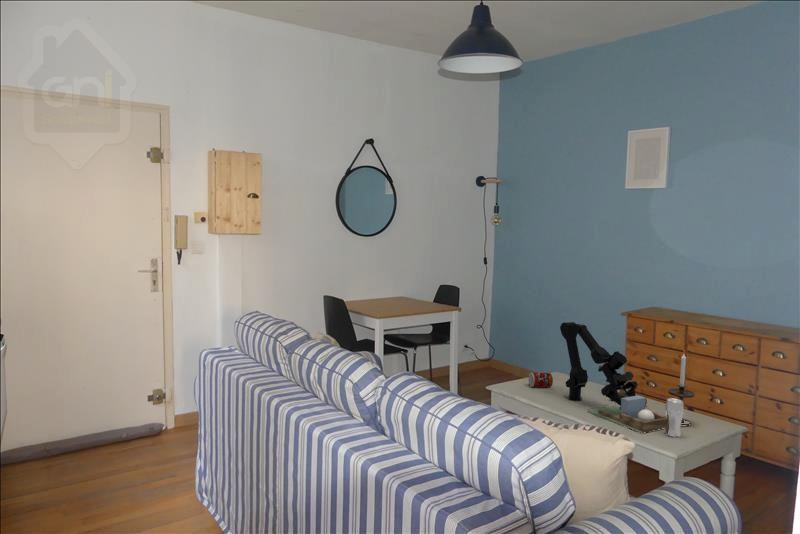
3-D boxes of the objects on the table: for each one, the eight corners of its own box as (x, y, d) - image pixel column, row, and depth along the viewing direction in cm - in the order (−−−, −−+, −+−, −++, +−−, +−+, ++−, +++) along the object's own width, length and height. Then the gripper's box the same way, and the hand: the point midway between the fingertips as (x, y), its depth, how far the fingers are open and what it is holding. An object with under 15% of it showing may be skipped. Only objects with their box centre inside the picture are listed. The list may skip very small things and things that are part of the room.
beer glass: (660, 432, 255) (662, 398, 254) (676, 432, 255) (678, 398, 254) (669, 437, 248) (671, 403, 247) (685, 437, 248) (687, 403, 247)
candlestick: (661, 421, 268) (666, 346, 265) (673, 417, 275) (678, 343, 272) (685, 428, 260) (690, 350, 257) (697, 424, 266) (702, 347, 263)
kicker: (620, 419, 267) (621, 398, 266) (637, 416, 272) (638, 395, 271) (627, 422, 264) (628, 400, 263) (644, 419, 269) (645, 397, 268)
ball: (652, 407, 258) (657, 423, 256) (651, 408, 265) (656, 424, 262) (635, 410, 260) (640, 427, 258) (635, 411, 267) (640, 427, 264)
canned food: (553, 386, 317) (533, 386, 315) (548, 387, 324) (529, 387, 323) (552, 371, 319) (532, 371, 317) (547, 373, 326) (527, 373, 325)
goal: (587, 411, 280) (587, 402, 279) (615, 406, 289) (616, 397, 288) (641, 433, 252) (642, 423, 252) (671, 427, 261) (672, 417, 260)
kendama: (639, 410, 286) (602, 398, 302) (649, 407, 292) (613, 396, 308) (640, 398, 286) (603, 387, 301) (650, 395, 292) (614, 385, 307)
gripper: (607, 367, 269) (625, 398, 260) (636, 364, 277) (654, 393, 268) (593, 380, 276) (610, 410, 267) (621, 376, 285) (639, 405, 276)
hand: (629, 404), depth 269 cm, fingers open, 9 cm apart
